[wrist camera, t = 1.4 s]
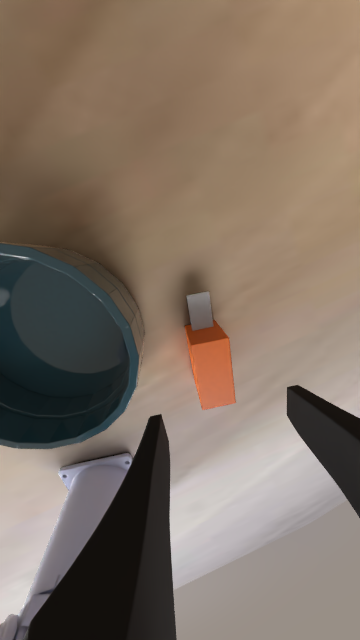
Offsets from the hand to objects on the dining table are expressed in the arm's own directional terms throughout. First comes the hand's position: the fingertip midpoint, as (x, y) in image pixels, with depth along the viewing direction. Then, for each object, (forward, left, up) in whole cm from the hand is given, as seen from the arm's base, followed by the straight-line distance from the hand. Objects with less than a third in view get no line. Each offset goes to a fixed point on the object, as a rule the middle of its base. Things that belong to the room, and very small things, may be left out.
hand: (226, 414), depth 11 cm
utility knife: (+1, 0, -8) cm, 8 cm away
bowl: (+4, +12, -8) cm, 15 cm away
